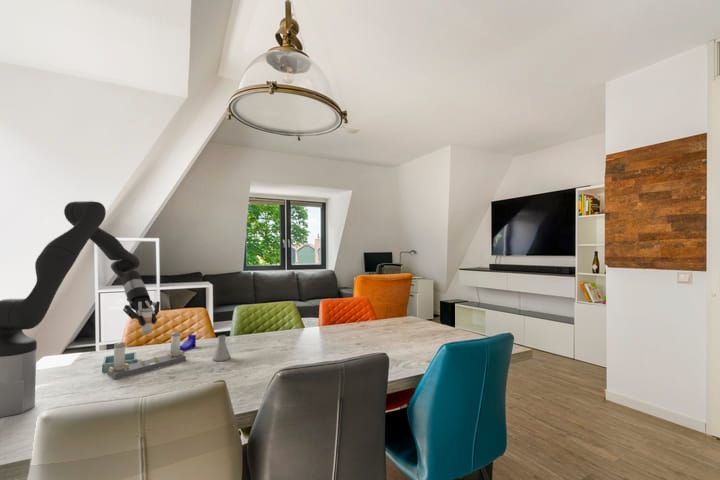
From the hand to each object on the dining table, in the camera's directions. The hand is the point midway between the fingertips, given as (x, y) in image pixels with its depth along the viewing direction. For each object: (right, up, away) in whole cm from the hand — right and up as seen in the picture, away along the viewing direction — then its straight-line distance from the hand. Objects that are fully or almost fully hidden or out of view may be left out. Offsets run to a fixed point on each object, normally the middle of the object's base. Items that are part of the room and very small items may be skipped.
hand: (149, 323), depth 136 cm
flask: (+25, -19, +11) cm, 33 cm away
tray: (-14, -18, +2) cm, 23 cm away
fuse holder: (0, -18, 0) cm, 18 cm away
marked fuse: (-2, -4, +1) cm, 4 cm away
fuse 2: (+6, -16, +9) cm, 19 cm away
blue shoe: (+1, -19, +24) cm, 31 cm away
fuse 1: (-6, -16, -8) cm, 19 cm away
